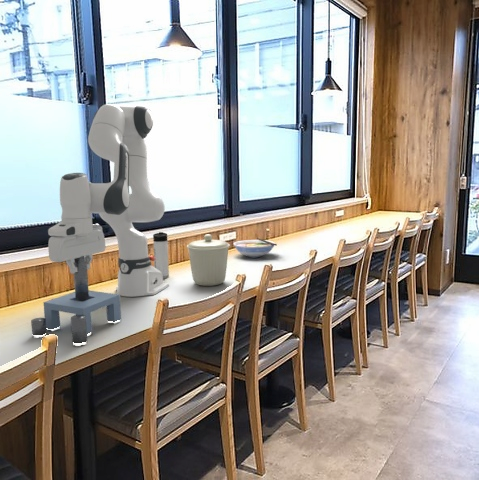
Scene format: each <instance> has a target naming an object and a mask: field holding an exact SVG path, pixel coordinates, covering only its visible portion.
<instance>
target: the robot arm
mask: <svg viewBox="0 0 479 480" xmlns="http://www.w3.org/2000/svg"><path fill="white" fill-rule="evenodd" d="M153 126H154V119H153V113H152V111H151V110H150V108H149V107H148V106H146V105H142V104H136V105H133V104H121V105H115V104H111V103H107V104H106V103H105V104H103V105H102V106H100V107H99V109H98V110H96V112H95V113H94V114H93V120H92V123H91V126H90V129H89V133H88V136H87V137H88V138H87V142H88V146H89V148H90V149H91V151H92V152H93V153H94V154H95V155H97V156H98V157H99V158H101V159H103V160H107V161H110V162H112V163H113V164H114V165H113V180H111V181H110V182H106V183H105V182H103V183H102V182H100V183H98V182H97V183H96V182H95V183H94V182H93V183H92V182H91V181H89V179H88V175H87V174H86V173H83V172H71V173H67V174H64V175H62V176H61V177H60V184H59V203H60V206H61V216H60V218H61V221H59V222H58V223H55V225H53V226H51V227H49V228H48V229H47V233H48V236H50V237H49V238H48V244H47V245H48V248H47V249H48V257H49V260H50V261H51V262H53V263H62V262H65V263H66V265H67V266H68V267H69V274H74V273H77V272H78V270H77V269H78V268H77V267H75V265H74V264H73V262H75V261H74V259H75V258H80V257H81V256H86V259H87V271H88V270H90V269H91V263H92V261H93V257H94V256H93V255H95V254H101V253H104V252H105V250H106V248H107V247H106V240H105V234H104V232H103V226H101V225H100V224H99V223H95V224H93V215H92V214H98V215H99V217H100V218H101V219H102V220H103V221H104V222H106V224H108V225H109V226H110V227H111V229H112V231H113V232H114V234H115V237H116V240H117V245H118V259H117V260H118V261H117V263H118V265H117V266H118V268H119V270H117V286H116V288H115V291H116V290H117V291H116V294H118V295H120V296H121V297H129V298H130V297H143V296H154V295H157V294H159V293H160V292H161V291H163V290H164V289H166V288H167V287H169V286H170V284H169V282H166V281H164V279H163V277H162V273H161V272H160V271H159V270H158V269H156V268H155V267H154V265H152V262H154V260H155V257H154V255H149V252H148V250H149V249H148V238H147V236H146V235H145V234H144V233H143V232H141V231H139V230H138V229H136V228H135V227H134V224H133V223H151V222H156V221H159V220H161V218H162V217H164V216H163V215H164V214H165V204H164V203H165V202H164V200H163V199H162V198H161V196H159V194H157V193H156V192H155V191H154V190H153V188H152V187H151V185H150V182H149V179H148V166H147V164H148V163H147V160H148V158H147V153H148V151H147V144H146V143H147V142H146V137H147V136H148V134H149V133H150V132H151V130H152V128H153ZM130 189H131V193H130ZM151 261H152V262H151Z"/></svg>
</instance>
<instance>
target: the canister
mask: <svg viewBox="0 0 479 480" xmlns="http://www.w3.org/2000/svg"><path fill="white" fill-rule="evenodd" d="M230 246H231V244H230V243H228V242H227V241H224V240H220V239H213V235H212V234H209V233H208V234H207V233H206V234H205V235H204V236H203V239H198V240H194V241H191V242H190V243H189V244H187V245H186V248H187V249H188V256H189V263H190V270H191V276H192V280H193V283H195V284H196V285H199V286H203V287H213V286H219V285H221V284H223V283H224V282H225V280H226V277H227V268H228V266H227V265H228V258H229V255H228V254H229V247H230Z"/></svg>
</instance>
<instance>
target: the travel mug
mask: <svg viewBox="0 0 479 480" xmlns="http://www.w3.org/2000/svg"><path fill="white" fill-rule="evenodd" d="M152 237H153V240H152V241H153V256H154V257H155V260H154V261H153V266H154V267H155V268H156V269H158V270H159V271H160V272H161V273H162V277H163V280H165V279H168V278H169V277H170V270H169V268H170V267H169V243H168V242H169V241H168V233H165V232H161V231H159V232H156V233H154V234H153V235H152Z"/></svg>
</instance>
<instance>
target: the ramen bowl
mask: <svg viewBox="0 0 479 480" xmlns="http://www.w3.org/2000/svg"><path fill="white" fill-rule="evenodd" d="M233 245H234V247H235V249H236V250H237V252H238V253H240V254H241V255H244V256H246V257H248V258H261V257H262V256H264V255H267V254H269V253H270V252H271V251H272V250H273V248H274V247H275V246H277V243H276V242H274V241H272V240H266V239H265V240H264V239H261V238H258V239H245V240H238V241H235V242H233Z"/></svg>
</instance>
